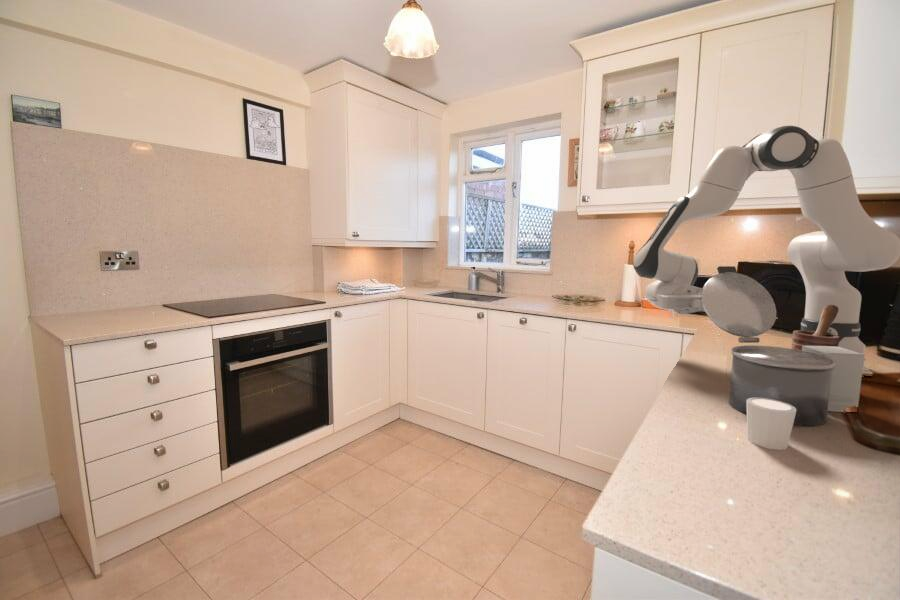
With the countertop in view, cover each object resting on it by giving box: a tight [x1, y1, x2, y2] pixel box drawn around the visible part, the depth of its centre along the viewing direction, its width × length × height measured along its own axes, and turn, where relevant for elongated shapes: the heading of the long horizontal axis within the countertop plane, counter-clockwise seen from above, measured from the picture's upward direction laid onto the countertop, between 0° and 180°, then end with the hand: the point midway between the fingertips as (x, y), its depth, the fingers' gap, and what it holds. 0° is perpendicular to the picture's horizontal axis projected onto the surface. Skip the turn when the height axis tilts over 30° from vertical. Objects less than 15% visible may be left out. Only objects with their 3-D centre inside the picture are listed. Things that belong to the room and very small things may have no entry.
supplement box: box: [802, 346, 865, 413], centre depth 87 cm, size 7×7×13 cm
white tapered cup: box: [746, 398, 796, 451], centre depth 70 cm, size 7×7×7 cm
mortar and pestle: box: [791, 305, 839, 351], centre depth 101 cm, size 12×9×20 cm
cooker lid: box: [701, 265, 777, 344], centre depth 96 cm, size 20×17×2 cm
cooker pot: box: [728, 344, 835, 428], centre depth 84 cm, size 17×17×12 cm
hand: (712, 305), depth 105 cm, fingers closed
